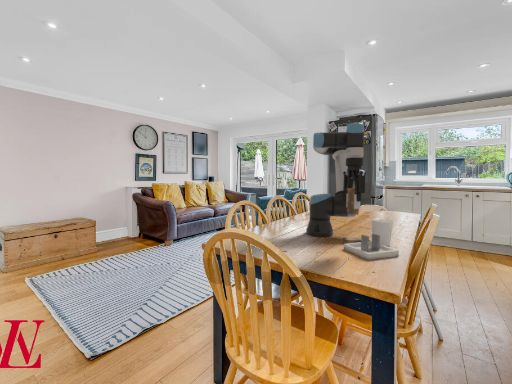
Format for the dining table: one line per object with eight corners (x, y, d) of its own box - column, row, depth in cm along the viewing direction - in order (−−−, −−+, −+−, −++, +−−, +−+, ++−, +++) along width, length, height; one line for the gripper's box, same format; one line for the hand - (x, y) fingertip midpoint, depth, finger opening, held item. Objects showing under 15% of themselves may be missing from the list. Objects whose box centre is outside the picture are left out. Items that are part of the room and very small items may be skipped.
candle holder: (394, 246, 126) (395, 222, 125) (372, 245, 128) (373, 221, 127) (388, 241, 136) (389, 218, 135) (368, 240, 138) (369, 218, 137)
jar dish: (343, 249, 122) (344, 232, 122) (371, 246, 128) (371, 229, 127) (368, 260, 107) (369, 240, 107) (398, 256, 112) (399, 237, 112)
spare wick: (345, 244, 131) (345, 239, 131) (343, 242, 136) (343, 237, 136) (370, 245, 130) (370, 240, 130) (366, 242, 135) (367, 238, 135)
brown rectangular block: (347, 213, 123) (347, 187, 123) (351, 213, 124) (352, 187, 124) (353, 214, 119) (354, 188, 118) (358, 214, 119) (359, 188, 119)
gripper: (336, 158, 128) (335, 206, 129) (360, 155, 110) (359, 210, 112) (349, 159, 130) (348, 205, 131) (375, 156, 113) (373, 210, 114)
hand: (353, 207), depth 121 cm, fingers closed on brown rectangular block, 5 cm apart
